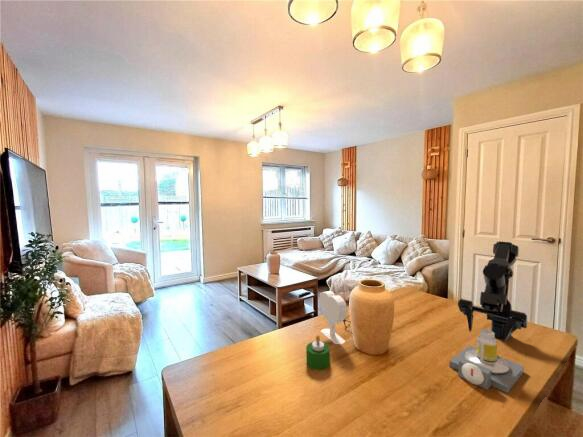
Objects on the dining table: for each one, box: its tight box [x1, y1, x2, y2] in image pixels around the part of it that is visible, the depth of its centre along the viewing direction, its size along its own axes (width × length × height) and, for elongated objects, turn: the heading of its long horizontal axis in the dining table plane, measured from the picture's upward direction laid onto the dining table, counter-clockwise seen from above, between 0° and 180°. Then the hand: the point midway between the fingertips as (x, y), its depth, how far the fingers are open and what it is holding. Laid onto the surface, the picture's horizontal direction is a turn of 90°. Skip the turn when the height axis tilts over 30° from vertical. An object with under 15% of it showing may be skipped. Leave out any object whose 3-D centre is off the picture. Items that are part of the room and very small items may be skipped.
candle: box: [305, 335, 331, 371], centre depth 95 cm, size 8×8×10 cm
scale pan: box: [465, 350, 509, 374], centre depth 90 cm, size 12×12×1 cm
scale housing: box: [449, 344, 525, 394], centre depth 89 cm, size 20×16×6 cm
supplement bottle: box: [476, 328, 498, 364], centre depth 90 cm, size 5×5×10 cm
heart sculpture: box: [319, 290, 348, 345], centre depth 113 cm, size 16×5×18 cm, turn 24°
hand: (486, 336), depth 88 cm, fingers open, 9 cm apart
